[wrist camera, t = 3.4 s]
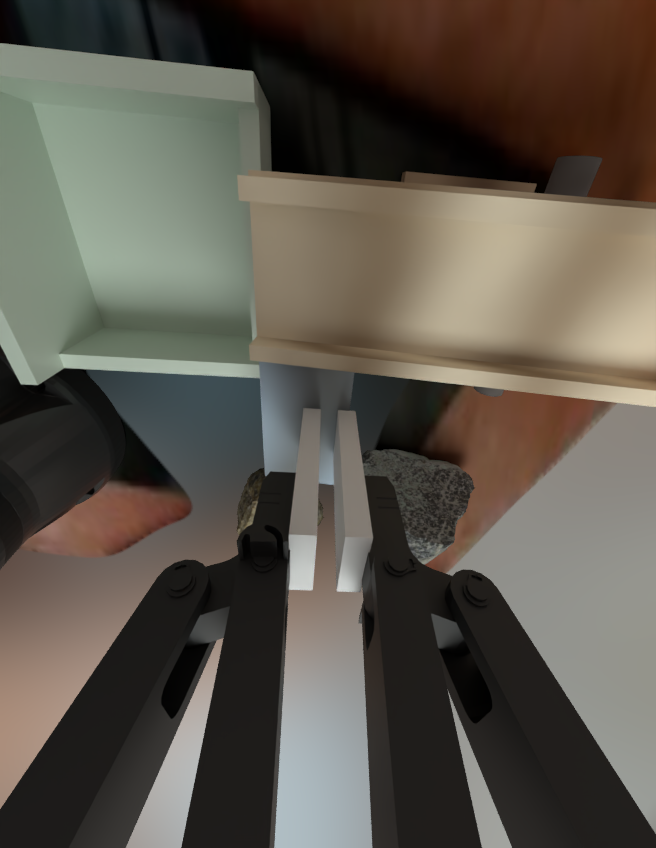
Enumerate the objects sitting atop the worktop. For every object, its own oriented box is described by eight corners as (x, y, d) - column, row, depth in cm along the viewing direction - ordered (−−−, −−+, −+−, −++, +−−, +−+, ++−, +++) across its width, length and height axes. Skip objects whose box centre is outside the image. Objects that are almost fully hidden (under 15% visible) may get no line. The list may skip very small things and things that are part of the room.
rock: (218, 482, 30) (203, 522, 26) (294, 455, 28) (290, 493, 24) (257, 527, 33) (250, 568, 30) (326, 505, 32) (328, 545, 28)
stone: (469, 539, 19) (367, 617, 23) (502, 501, 26) (422, 565, 31) (365, 424, 23) (296, 509, 27) (421, 421, 31) (360, 487, 35)
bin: (100, 336, 21) (20, 384, 16) (15, 80, 15) (-179, 0, 9) (275, 346, 22) (260, 395, 16) (270, 107, 15) (242, 48, 10)
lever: (274, 453, 19) (250, 512, 15) (264, 138, 11) (211, 102, 7) (634, 500, 18) (702, 576, 14) (907, 187, 10) (1226, 172, 6)
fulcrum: (378, 323, 22) (406, 377, 15) (402, 172, 17) (458, 151, 10) (570, 335, 22) (680, 392, 16) (641, 195, 18) (839, 189, 11)
